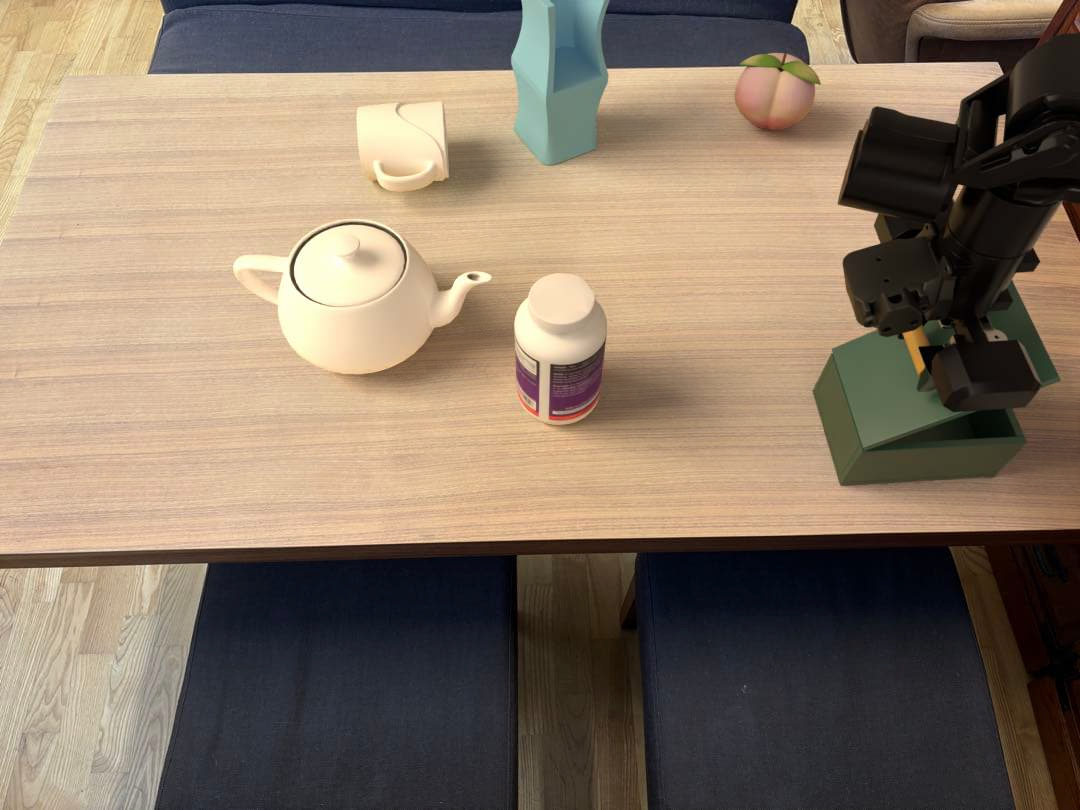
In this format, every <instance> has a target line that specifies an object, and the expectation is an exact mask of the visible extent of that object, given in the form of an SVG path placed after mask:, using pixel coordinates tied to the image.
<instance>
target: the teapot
mask: <svg viewBox="0 0 1080 810" xmlns="http://www.w3.org/2000/svg"><path fill="white" fill-rule="evenodd" d="M232 269H233V274H234V276H235V277H236V279H237V280H238V282H239V283H240V284H242V286H243V287H244V288H246V289H247V290H248V291H249V292H251V293H253V294H254V295H256V296H257V297H259V298H260V299H262V300H264V301H267V302H268V303H271V304H273V305H276V306H277V314H278V320H279V324H280V327H281V331H282V334H283V335H284V337H285V339H286V341H287V343H288V344H289V346H290V347H291V349H292V350H294V352H295V353H297V355H298V356H299V357H301V358H302V359H303V360H305V361H307V362H308V363H310V364H311V365H313V366H315V367H317V368H321V369H322V370H325V371H327V372H328V371H329V372H333V373H337V374H342V375H366V374H372V373H377V372H381V371H384V370H388V369H391V368H393V367H394V366H397V365H399V364H401V363H403V362H404V361H406V360H407V359H408V358H410V357H411V356H413V355H414V354H416V353H417V351H419V349H421V347H423V345H425V343H426V342H427V341H428V339H429V337H430V335H431V334H432V333H433V331H434V328H440V327H443V326H445V325H449V324H450V323H451V322H452V321H453V320H454V319H456V317H457V316H458V315H459V314H460V312H461V310H462V307H463V305H464V302H465V299H466V297H467V295H468V293H469V291H471V289H472V288H474V287H476V286H479V285H481V284H485V283H488V282H490V281H491V280H492V279H493V277H492V275H491V274H489V273H487V272H486V271H475V270H474V271H467V272H464V273H463V274H461V275H459V276H457V278H456V279H455V280H454V282H453V285H452V287H451V288H449V289H447V290H439V287H438V284H437V282H436V279H435V277H434V274H433V272H432V269H431V268H430V266H429V265H428V264H427V262H426V261H425V259H424V258H423V256H422V255H421V253H419V251H418V250H417V249H416V247H414V246H413V245H412V244H411V243H410V242H409V240H407V239H406V237H404V236H403V235H402V234H401V233H400V232H398V231H397V230H396V229H394V228H393V227H391V226H389V225H387V224H385V223H382V222H380V221H376V220H372V219H366V218H343V219H339V220H334V221H330V222H327V223H325V224H322V225H320V226H318V227H315V228H314V229H313V230H311V231H309V232H308V233H307V234H305V235H304V236H303V237H302V238H300V239H299V241H298V242H297V243H296V244H295V246H293V248H292V250H291V251H290V254H289V256H280V255H279V256H278V255H269V254H245V255H241V256H239V257H238V258H236V260H235V261H234V263H233V267H232ZM253 271H263V272H264V271H265V272H274V273H283V274H282V277H281V281H280V284H279V288H277V287H275V286H273V285H271V284H270V283H268V282H266V281H264V280H263V279H262V278H260V277H259V276H258V275H256V274H255V273H254V272H253Z"/></svg>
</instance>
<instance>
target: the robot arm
mask: <svg viewBox="0 0 1080 810" xmlns="http://www.w3.org/2000/svg"><path fill="white" fill-rule="evenodd" d="M958 110H959V111H958V117H957V118H956V120H955V122H954V123H951V122H946V121H940V120H937V119H931V118H925V117H920V116H915V115H910V114H906V113H903V112H901V111H899V110H896V109H893V108H889V107H883V106H879V105H876V106H873V107H872V108H871V111H870V113H869V116H868V118H867V119H865V122H864V124H863V127H862V129H858V132H857V135H856V138H855V141H854V144H853V146H852V150H851V152H850V156H849V159H848V163H847V166H846V168H845V171H844V172H845V173H844V175H843V180H842V183H841V187H840V190H839V195H838V199H837V205H838V206H841V207H847V208H850V209H855V210H861V211H865V212H869V213H874V214H877V216H876V218H875V221H874V223H873V227H874V230H875V234H876V235H877V238H878V242H879V243H877V244H874V245H870V246H867V247H864V248H860V249H857V250H853V251H851V252H849V253H847V254H846V255H845V256H844V257H843V258H842V269H843V276H844V284H845V291H846V293H847V295H848V298H849V301H850V305H851V307H852V310H853V314H854V318H855V320H856V322H857V323H858V324H859V325H861V326H862V327H864V328H866V329H869V328H874V329H876V330H878V333H879V335H880V336H883V337H890V336H894V335H897V336H898V339H900V340H902V339H904V336H903V333H906V332H909V331H913V330H916V329H917V328H919V327H920V326H921V325H922V326H923V327H924V326H925V324H926V323H927V322H928V321H933V320H938V322H939V325H940V327H941V328H943V329H951V328H953V329H954V332H955V334H956V335H952V337H951V339H950V340H949V342H950V344H949V343H945V344H944V345H934V346H919V347H918V349H919V352H920V354H921V357H922V359H923V362H924V365H925V367H924V369H923V372H922V374H921V376H920V378H919V381H918V385H917V391H918V392H929V391H932V390H935V389H937V392H938V394H939V397H940V400H941V402H942V405H943V406H944V407H945V408H947V409H949V410H950V411H952V412H965V411H979V410H994V409H1009V408H1012V409H1021V408H1022V409H1023V408H1026V407H1028V405H1029V404H1030V403H1031V402H1032V400H1033V399H1034V398H1035V396H1036V395H1037V394H1038V393H1039V391H1040V390H1041V389H1042V388H1041V387H1042V386H1043V385H1042V383H1041V381H1040V379H1039V377H1038V375H1037V372H1036V370H1035V368H1034V366H1033V364H1032V362H1031V360H1030V358H1029V355H1028V353H1027V351H1026V349H1025V347H1024V346H1023V345H1022V344H1021V343H1020V342H1019V341H1018V340H1008V339H1007V336H1006V335H1005V334H1004V333H1003V332H1002V331H1000V330H996V329H994V328H993V327H992V325H991V323H990V320H989V318H988V316H987V314H988V312H989V311H1003V310H1008V309H1009V307H1010V306H1011V304H1012V303H1013V299H1012V297H1011V295H1010V293H1009V291H1008V289H1007V286H1008V285H1009V283H1010V282H1011V280H1013V278H1014V277H1015V276H1016V274H1019V273H1021V274H1022V273H1034V272H1035V270H1036V269H1037V267H1038V266H1039V265H1040V263H1041V260H1040V258H1039V256H1038V254H1037V252H1036V250H1035V248H1034V247H1035V245H1036V244H1037V242H1038V240H1039V239H1040V238H1041V236H1042V234H1043V233H1044V231H1045V230H1046V228H1047V227H1048V225H1049V224H1050V222H1051V221H1052V219H1053V218H1054V216H1055V214H1056V213H1057V212H1058V210H1059V208H1060V207H1061V206H1062V203H1063V202H1066V203H1072V204H1075V205H1076V204H1077V205H1080V32H1071V33H1061V34H1058V35H1054V36H1050V37H1049V38H1048V39H1047V40H1046V41H1045V42H1043V43H1041V44H1040V45H1038V46H1036V47H1034V48H1033V49H1031V50H1029V51H1028V52H1027V53H1026V54H1025V55H1023V57H1022V58H1021V59H1019V61H1017V63H1016V64H1015V67H1013V68H1012V69H1010V70H1008V71H1006V72H1005V73H1003V74H1001V75H1000V76H999V77H997V78H995V79H993V80H992V81H990V82H988V83H987V84H985V85H984V86H982V87H980V88H979V89H977V90H976V91H974V92H972V93H970V94H968V95H967V96H965V97H964V98H962V99H961V100H960V103H959V109H958ZM1001 116H1005V117H1004V126H1003V128H1004V129H1003V139H1002V142H1001V143H999V144H997V142H998V131H999V121H1000V117H1001ZM959 186H961V189H960V192H959V193H958V195H957V197H956V198H955V199H954V196H955V195H956V191H957V189H958V187H959Z"/></svg>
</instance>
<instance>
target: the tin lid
mask: <svg viewBox="0 0 1080 810" xmlns="http://www.w3.org/2000/svg"><path fill="white" fill-rule="evenodd" d="M1007 289H1008V291H1009V293H1010V295H1011V297H1012V299H1013V303H1012V304H1011V306H1010V307H1009V309H1008V310H1003V311H989V312H988V314H987V316H988V318H989V320H990V323H991V325H992V327H993V328H994V329H996V330H1000V331H1002V332H1003V333H1004V334H1005V335H1006V336H1007V339H1008V340H1018V341H1019V342H1020V343H1021V344H1022V345H1023V346H1024V347H1025V349H1026V351H1027V353H1028V355H1029V358H1030V360H1031V362H1032V364H1033V366H1034V368H1035V370H1036V372H1037V375H1038V377H1039V379H1040V381H1041V383H1042V385H1043V386H1042V387H1041V388H1040V389H1042V388H1045V387H1048V386H1051V385H1054V384H1057V383H1059V382H1061V381H1062V380H1061V377H1060V375H1059V373H1058V370H1057V369H1056V367H1055V365H1054V362H1053V360H1052V359H1051V356H1050V355H1049V353H1048V350H1047V349H1046V346H1045V344H1044V342H1043V339H1042V338H1041V336H1040V334H1039V332H1038V329H1037V327H1036V325H1035V324H1034V322H1033V320H1032V318H1031V315H1030V314H1029V312H1028V309H1027V307H1026V305H1025V303H1024V301H1023V299H1022V297H1021V295H1020V293H1019V291H1018V289H1017V286H1016V285H1015V282H1014V280H1013V279H1012V280H1011V282H1010V283H1009V285H1008V286H1007ZM952 335H956V334H955V332H954V329H953V328H951V329H943V328H941V327H940V325H939V322H938V320H933V321H928V322H927V323H926V324H925V326H924V327H923V326H922V325H921V326H920V327H919V328H917V329H916V330H913V331H909V332H906V333H903V336H904V339H902V340H900V339H898V336H897V335H894V336H890V337H883V336H880V335H879V333H878V330H877V329H875V330H873V331H870V332H867V333H865V334H863V335H861V336H858V337H856V338H854V339H851V340H849V341H847V342H844V343H842V344H840V345H838V346H834V347H833V348H831V353H833V356H834V359H835V362H836V365H837V368H838V371H839V374H840V378H841V381H842V384H843V387H844V390H845V393H846V397H847V400H848V403H849V406H850V409H851V412H852V416H853V419H854V422H855V425H856V428H857V431H858V435H859V438H860V441H861V444H862V447H863V449H864V450H869V449H871V448H874V447H877V446H880V445H883V444H885V443H888V442H891V441H894V440H897V439H900V438H902V437H905V436H908V435H911V434H914V433H916V432H919V431H922V430H925V429H928V428H930V427H933V426H936V425H939V424H942V423H944V422H947V421H950V420H953V419H956V418H958V417H961V416H964V415H967V414H970V413H973V412H975V411H965V412H952V411H950V410H949V409H947V408H945V407H944V406H943V405H942V402H941V400H940V397H939V394H938V392H937V389H935V390H932V391H929V392H918V391H917V385H918V381H919V378H920V376H921V374H922V372H923V369H924V367H925V365H924V362H923V359H922V357H921V354H920V352H919V349H918V347H919V346H934V345H944V344H945V343H949V344H950V342H949V340H950V339H951V337H952Z"/></svg>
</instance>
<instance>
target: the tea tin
mask: <svg viewBox="0 0 1080 810" xmlns="http://www.w3.org/2000/svg"><path fill="white" fill-rule="evenodd" d="M812 394H813V397H814V401H815V404H816V408H817V411H818V414H819V417H820V422H821V424H822V429H823V431H824V435H825V438H826V442H827V446H828V449H829V452H830V457H831V459H832V462H833V466H834V469H835V472H836V476H837V480H838V482H839V486H856V485H857V486H859V485H875V484H892V483H894V484H895V483H910V482H928V481H929V482H930V481H945V480H946V481H947V480H948V481H949V480H963V479H964V480H965V479H980V478H995V477H996V476H997V475H998V474H999V473H1000V472H1001V471H1002V470H1003V469H1004V468H1005V467H1006V466H1007V465H1008V464H1009V463H1010V461H1012V460H1013V458H1014V457H1015V456H1016V455H1017V454H1018V453H1019V452H1020V451H1021V450H1022V449H1023V448H1024V447H1025V446H1026V445H1027V444H1028V441H1027V438H1026V436H1025V434H1024V432H1023V430H1022V427H1021V425H1020V423H1019V420H1018V418H1017V416H1016V413H1015V411H1014V408H1009V409H994V410H979V411H975V412H973V413H970V414H967V415H964V416H961V417H958V418H956V419H953V420H950V421H947V422H944V423H942V424H939V425H936V426H933V427H930V428H928V429H925V430H922V431H919V432H916V433H914V434H911V435H908V436H905V437H902V438H900V439H897V440H894V441H891V442H888V443H885V444H883V445H880V446H877V447H874V448H871V449H869V450H864V449H863V447H862V444H861V441H860V438H859V435H858V431H857V428H856V425H855V422H854V419H853V416H852V412H851V409H850V406H849V403H848V400H847V397H846V393H845V390H844V387H843V384H842V381H841V378H840V374H839V371H838V368H837V365H836V362H835V359H834V356H833V352H831V353H830V355H829V357H828V359H827V360H826V362H825V365H824V367H823V368H822V371H821V373H820V375H819V376H818V379H817V381H816V383H815V385H814V387H813V389H812Z"/></svg>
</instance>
